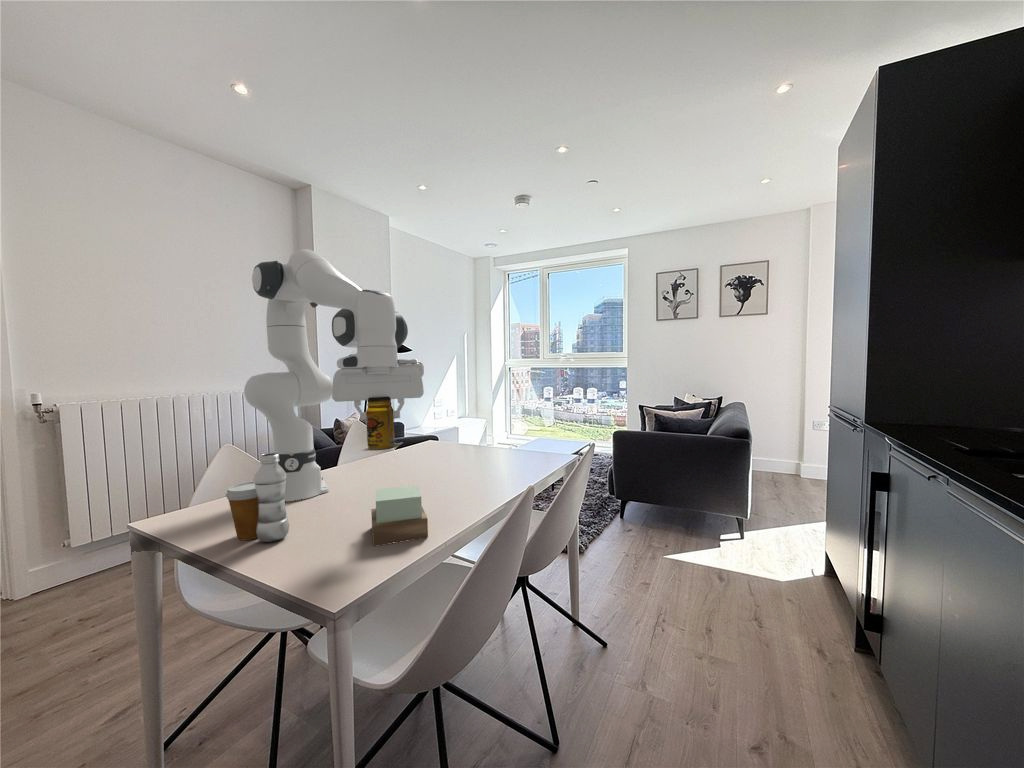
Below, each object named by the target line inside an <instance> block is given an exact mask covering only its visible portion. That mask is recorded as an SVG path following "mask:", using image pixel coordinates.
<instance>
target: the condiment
mask: <svg viewBox="0 0 1024 768" xmlns="http://www.w3.org/2000/svg"><path fill="white" fill-rule="evenodd" d="M366 401H367V405H366V406H367V409H366V410H365V412H366V420H365V421H366V436H367V437H366V439H367V440H366V441H367V447H366V448H364V449H362V450H361V451H362V452H363V451H365V452H367V451H374V452H375V451H387V450H388V451H389V450H396V449H397V448H398V447H399V446H401V445H402V444H403V442H396V441H395V440H396V439H395V419H394V414H393V411H394V408H393V406H392V399H390V397H373V398H368V400H366Z"/></svg>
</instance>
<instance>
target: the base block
mask: <svg viewBox="0 0 1024 768" xmlns="http://www.w3.org/2000/svg"><path fill="white" fill-rule="evenodd" d="M370 511H371V531H372V545H373V546H374V547H378V546H377V545H380V546H384V545H383V544H386V545H389V544H388V543H392V544H394V543H393V542H398V543H401V542H400V541H405V542H407V541H406V540H411V541H413V540H412V539H417V540H420V539H419V538H423V539H428V538H429V526H428V523H429V522H428V516H427V514H426V512H425V510H424V508H423V506H422V518H416V519H408V520H400V521H392V522H384V523H377V522H376V508H371V510H370ZM427 537H428V538H427Z"/></svg>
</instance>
